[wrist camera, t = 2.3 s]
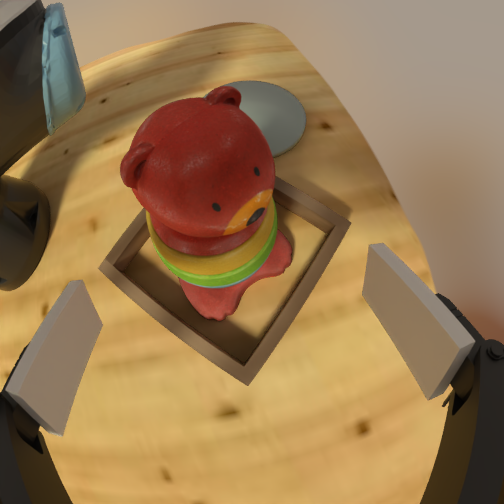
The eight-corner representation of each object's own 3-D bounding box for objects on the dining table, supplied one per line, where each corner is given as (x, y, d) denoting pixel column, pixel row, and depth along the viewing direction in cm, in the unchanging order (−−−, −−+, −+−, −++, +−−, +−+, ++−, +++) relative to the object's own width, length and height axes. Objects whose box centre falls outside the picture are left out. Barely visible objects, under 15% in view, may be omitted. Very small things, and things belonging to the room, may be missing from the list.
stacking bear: (212, 330, 25) (135, 317, 8) (152, 249, 27) (49, 138, 10) (300, 258, 27) (373, 136, 10) (235, 187, 29) (224, 36, 12)
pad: (171, 131, 31) (170, 126, 30) (237, 75, 35) (237, 70, 34) (266, 181, 29) (267, 176, 28) (322, 112, 33) (324, 107, 32)
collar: (109, 274, 26) (98, 268, 23) (208, 152, 30) (205, 139, 28) (248, 381, 23) (248, 386, 21) (343, 232, 27) (351, 222, 25)
